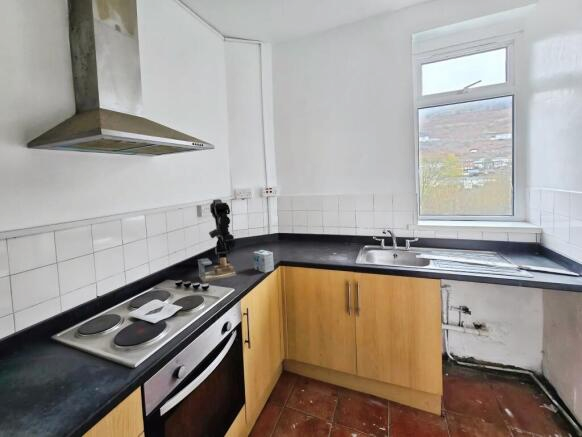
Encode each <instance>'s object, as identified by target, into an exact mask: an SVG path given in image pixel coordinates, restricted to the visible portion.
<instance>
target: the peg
mask: <svg viewBox="0 0 582 437" xmlns="http://www.w3.org/2000/svg"><path fill="white" fill-rule="evenodd" d="M227 264H228V263H226V258H220V264H219V265H220V268H221V269H222V268H227Z"/></svg>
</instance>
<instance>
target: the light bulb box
mask: <svg viewBox="0 0 582 437" xmlns="http://www.w3.org/2000/svg"><path fill="white" fill-rule="evenodd" d="M253 265H254V270H256V271H259V272H262V273H265V274H266V273H269V272H272V271H274V270H275V266H274V252H273V251H269V250H264V249H260V250H256V251H253Z"/></svg>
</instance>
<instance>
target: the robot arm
mask: <svg viewBox="0 0 582 437" xmlns="http://www.w3.org/2000/svg"><path fill="white" fill-rule="evenodd" d="M209 207H210V208H209V210H210V214H211V217H212V218H213V219H214V222H215V229H213V230H211V231H209V232H208V234H209V237H210V238H211V239H214V238H215V237H216V238H217V241H216V243H215V250H214V251H215V255H216V256H218V257H217V258H218V261H217V263H218V265H220V258H226V263H227V264H230V261H229V260H228V259H229V258H228V254H230V253H231V245H232V242H233V241H234V239H235V238H234V235H233V234H231V233H230V230H229V227H230V225H229V224H231V219H230V217H229V216H228V215H230V214H231V209H230V206H229V204H228V203H227V202H222V199H219V198H218V199H213V200H212V202H211V203H210V206H209Z"/></svg>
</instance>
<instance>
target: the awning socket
mask: <svg viewBox="0 0 582 437" xmlns="http://www.w3.org/2000/svg"><path fill="white" fill-rule="evenodd" d="M197 264H198V276H199V278H200V280H201V281H202V283H207V282H212V281H216V280H221V279H225V278H230V277H235V276H237V272H236V271H235V267H234V266H233V265H232V264H231V263H227V268H222V269H221V268H220V264H218V265H215V266H213V270H212V271H205V270H206V269H205V266H209V265H212V264H213V262H212V261H211V260H210V259H209V257H205V258H200V259H197Z"/></svg>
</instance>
